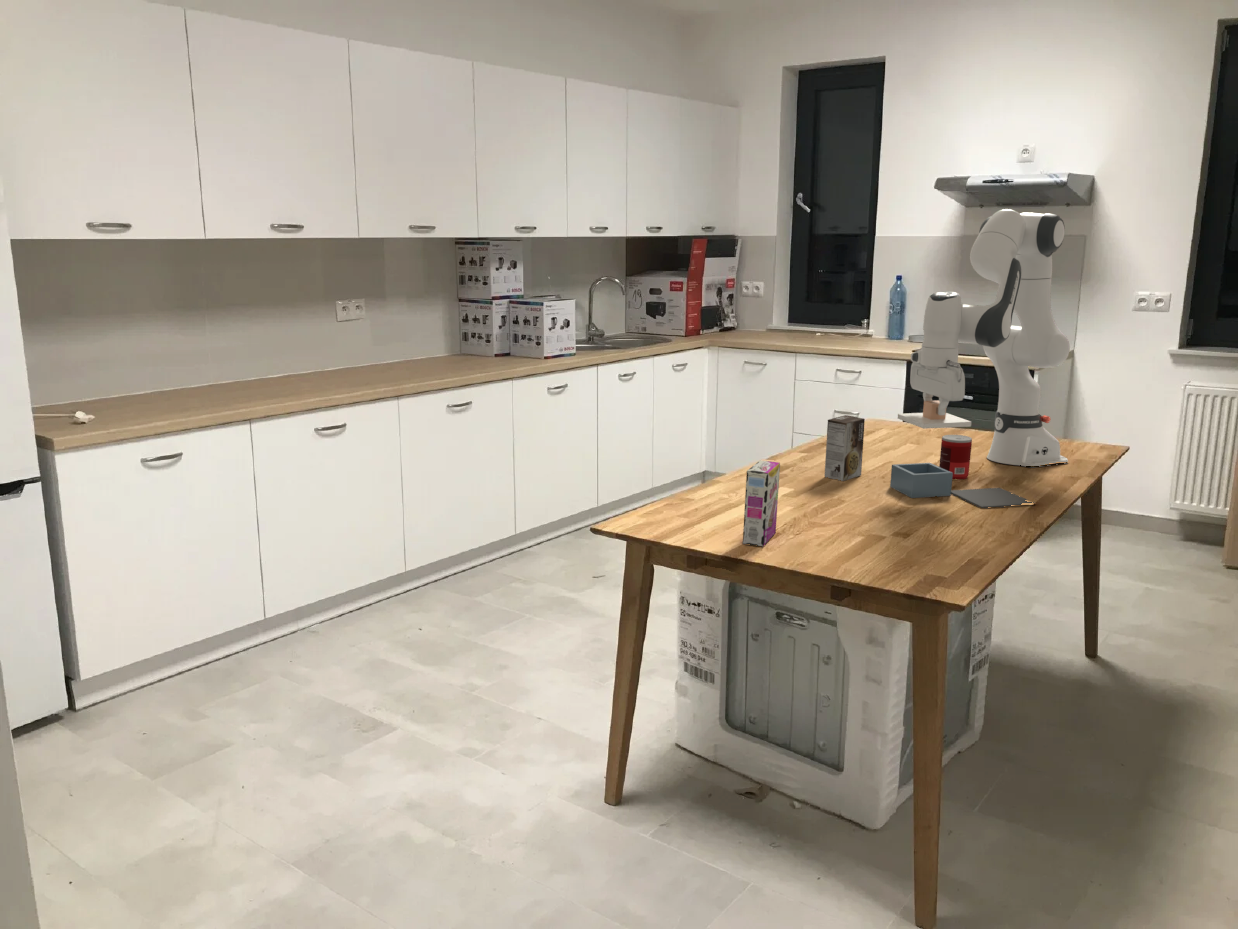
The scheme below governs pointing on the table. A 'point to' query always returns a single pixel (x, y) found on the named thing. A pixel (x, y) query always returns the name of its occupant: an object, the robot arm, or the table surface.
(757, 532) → the candy bar box
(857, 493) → the table surface
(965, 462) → the canned food
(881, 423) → the table surface
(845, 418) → the coffee box
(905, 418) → the lid
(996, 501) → the mat
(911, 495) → the open box
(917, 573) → the table surface
